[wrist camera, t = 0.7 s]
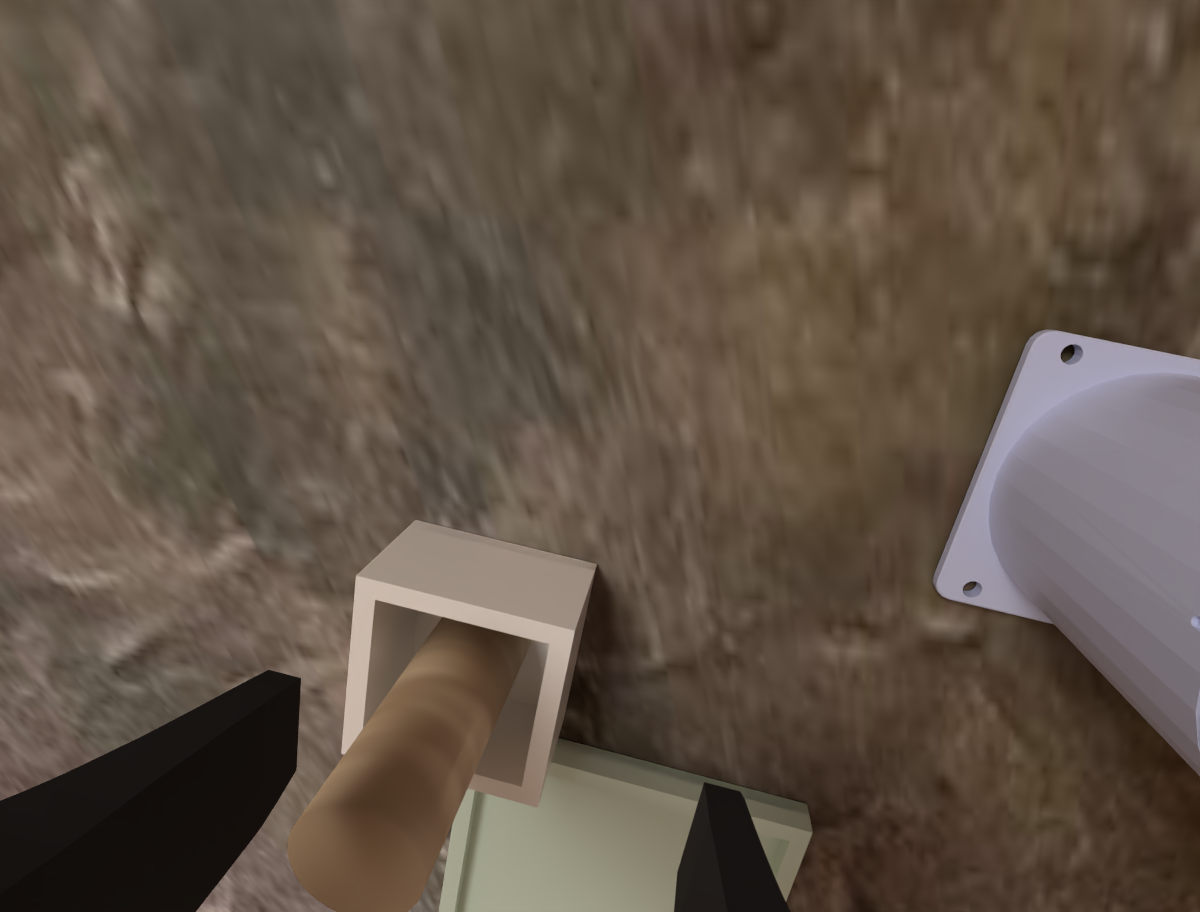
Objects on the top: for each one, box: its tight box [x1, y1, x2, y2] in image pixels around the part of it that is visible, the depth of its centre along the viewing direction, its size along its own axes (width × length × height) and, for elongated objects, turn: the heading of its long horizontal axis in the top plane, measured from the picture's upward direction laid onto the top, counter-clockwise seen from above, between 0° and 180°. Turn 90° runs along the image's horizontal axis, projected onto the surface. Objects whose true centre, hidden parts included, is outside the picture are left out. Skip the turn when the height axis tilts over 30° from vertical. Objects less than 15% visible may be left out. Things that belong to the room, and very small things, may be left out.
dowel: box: [287, 617, 531, 912], centre depth 18 cm, size 3×3×9 cm
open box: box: [341, 520, 597, 808], centre depth 21 cm, size 6×6×4 cm
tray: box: [439, 738, 813, 912], centre depth 25 cm, size 12×12×1 cm
